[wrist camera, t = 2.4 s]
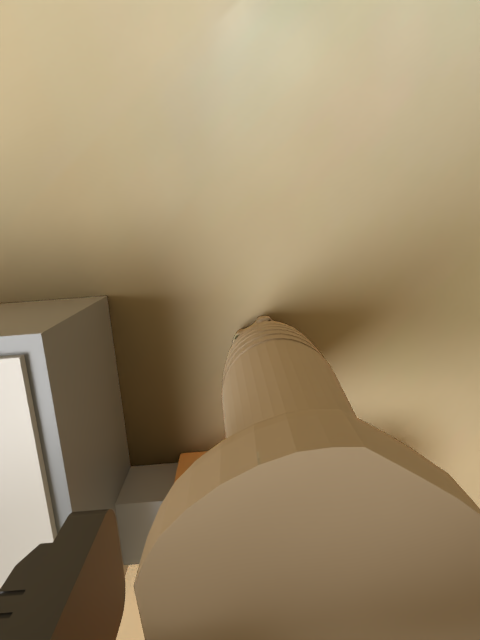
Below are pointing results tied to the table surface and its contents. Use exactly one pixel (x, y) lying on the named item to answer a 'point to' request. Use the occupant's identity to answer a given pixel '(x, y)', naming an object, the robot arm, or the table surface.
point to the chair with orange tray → (68, 430)
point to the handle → (307, 519)
